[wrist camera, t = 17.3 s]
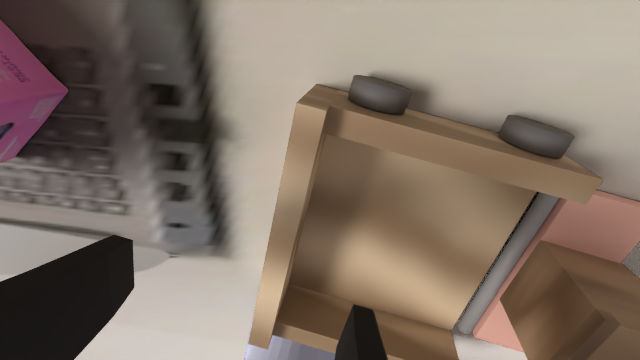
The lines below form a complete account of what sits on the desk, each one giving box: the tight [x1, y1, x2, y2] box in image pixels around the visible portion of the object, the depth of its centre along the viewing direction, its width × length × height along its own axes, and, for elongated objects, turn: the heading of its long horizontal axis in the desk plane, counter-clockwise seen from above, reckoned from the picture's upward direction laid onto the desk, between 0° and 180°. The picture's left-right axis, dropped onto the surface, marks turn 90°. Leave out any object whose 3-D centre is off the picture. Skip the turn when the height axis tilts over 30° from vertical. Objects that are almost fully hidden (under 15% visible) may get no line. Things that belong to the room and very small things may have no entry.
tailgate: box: [457, 190, 640, 353], centre depth 19 cm, size 11×1×6 cm
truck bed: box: [248, 75, 603, 360], centre depth 17 cm, size 16×13×5 cm
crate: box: [500, 240, 640, 360], centre depth 16 cm, size 5×5×6 cm
